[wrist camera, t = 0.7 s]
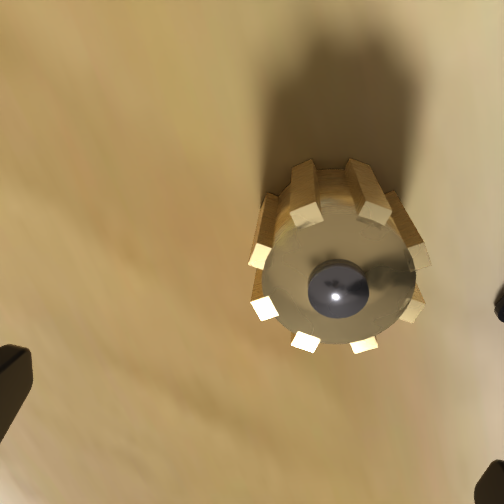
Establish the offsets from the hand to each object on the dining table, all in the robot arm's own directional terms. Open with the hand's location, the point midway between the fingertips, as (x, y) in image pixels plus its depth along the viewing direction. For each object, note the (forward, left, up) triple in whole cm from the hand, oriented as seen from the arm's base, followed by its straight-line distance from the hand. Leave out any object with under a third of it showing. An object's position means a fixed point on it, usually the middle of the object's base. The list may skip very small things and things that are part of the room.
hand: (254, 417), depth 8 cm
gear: (-2, 0, -12) cm, 12 cm away
